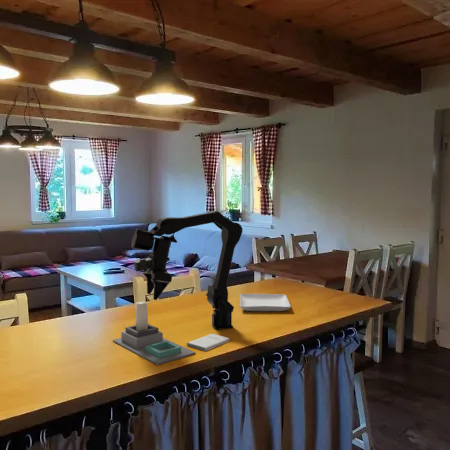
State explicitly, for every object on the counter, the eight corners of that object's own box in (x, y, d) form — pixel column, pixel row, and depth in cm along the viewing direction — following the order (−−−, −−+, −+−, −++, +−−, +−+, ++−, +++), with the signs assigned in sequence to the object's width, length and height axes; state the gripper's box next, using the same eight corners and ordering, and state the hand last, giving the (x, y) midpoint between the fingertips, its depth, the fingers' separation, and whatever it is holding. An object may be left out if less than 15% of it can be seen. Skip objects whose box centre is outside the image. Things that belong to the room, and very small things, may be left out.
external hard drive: (186, 347, 155) (211, 337, 164) (205, 352, 149) (229, 342, 159) (186, 342, 154) (211, 332, 164) (205, 347, 149) (229, 337, 159)
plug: (145, 329, 160) (144, 301, 160) (149, 332, 157) (149, 303, 156) (134, 331, 158) (133, 302, 157) (138, 334, 155) (138, 305, 154)
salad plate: (291, 313, 193) (291, 305, 193) (239, 313, 194) (239, 305, 193) (285, 301, 214) (285, 293, 214) (239, 301, 215) (239, 293, 214)
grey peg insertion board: (112, 341, 159) (112, 326, 159) (148, 332, 168) (148, 319, 168) (157, 365, 138) (157, 348, 137) (195, 353, 147) (195, 338, 147)
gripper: (132, 246, 169) (124, 288, 169) (144, 253, 152) (134, 300, 152) (162, 250, 173) (153, 292, 174) (176, 258, 156) (167, 304, 156)
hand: (151, 296), depth 164 cm, fingers open, 9 cm apart
